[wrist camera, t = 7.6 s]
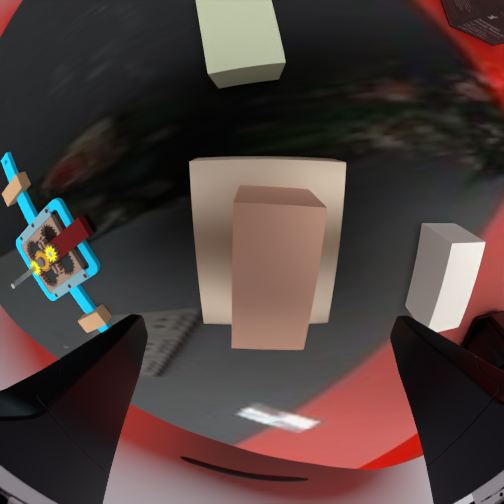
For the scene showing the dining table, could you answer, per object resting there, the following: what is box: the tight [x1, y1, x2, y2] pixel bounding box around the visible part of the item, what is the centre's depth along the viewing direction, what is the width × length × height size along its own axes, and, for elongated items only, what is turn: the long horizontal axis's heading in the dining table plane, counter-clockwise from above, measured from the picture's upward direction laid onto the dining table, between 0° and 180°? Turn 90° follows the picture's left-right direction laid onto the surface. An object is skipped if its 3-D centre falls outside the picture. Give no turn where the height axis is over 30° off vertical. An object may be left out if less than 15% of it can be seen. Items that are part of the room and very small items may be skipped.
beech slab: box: [189, 156, 346, 324], centre depth 16 cm, size 10×8×3 cm
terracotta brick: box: [232, 185, 327, 350], centre depth 13 cm, size 7×4×4 cm, turn 178°
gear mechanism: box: [1, 152, 112, 333], centre depth 16 cm, size 20×5×9 cm
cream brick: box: [405, 223, 485, 332], centre depth 16 cm, size 7×4×4 cm, turn 3°
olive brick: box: [196, 0, 286, 88], centre depth 11 cm, size 7×4×4 cm, turn 9°
